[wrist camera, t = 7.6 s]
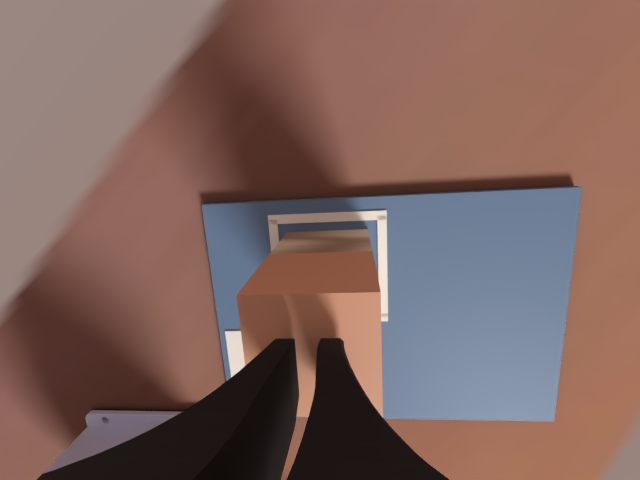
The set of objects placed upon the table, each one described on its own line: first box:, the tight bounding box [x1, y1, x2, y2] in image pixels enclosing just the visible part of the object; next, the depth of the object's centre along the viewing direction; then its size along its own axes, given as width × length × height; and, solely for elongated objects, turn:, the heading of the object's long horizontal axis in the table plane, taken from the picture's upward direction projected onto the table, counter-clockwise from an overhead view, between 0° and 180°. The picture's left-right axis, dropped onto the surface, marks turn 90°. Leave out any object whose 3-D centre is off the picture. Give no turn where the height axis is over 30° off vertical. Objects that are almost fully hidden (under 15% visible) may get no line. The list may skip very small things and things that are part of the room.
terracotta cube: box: [236, 251, 383, 417], centre depth 14 cm, size 4×4×4 cm
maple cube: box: [270, 229, 372, 254], centre depth 18 cm, size 4×4×4 cm
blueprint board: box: [202, 186, 582, 421], centre depth 21 cm, size 20×14×1 cm
